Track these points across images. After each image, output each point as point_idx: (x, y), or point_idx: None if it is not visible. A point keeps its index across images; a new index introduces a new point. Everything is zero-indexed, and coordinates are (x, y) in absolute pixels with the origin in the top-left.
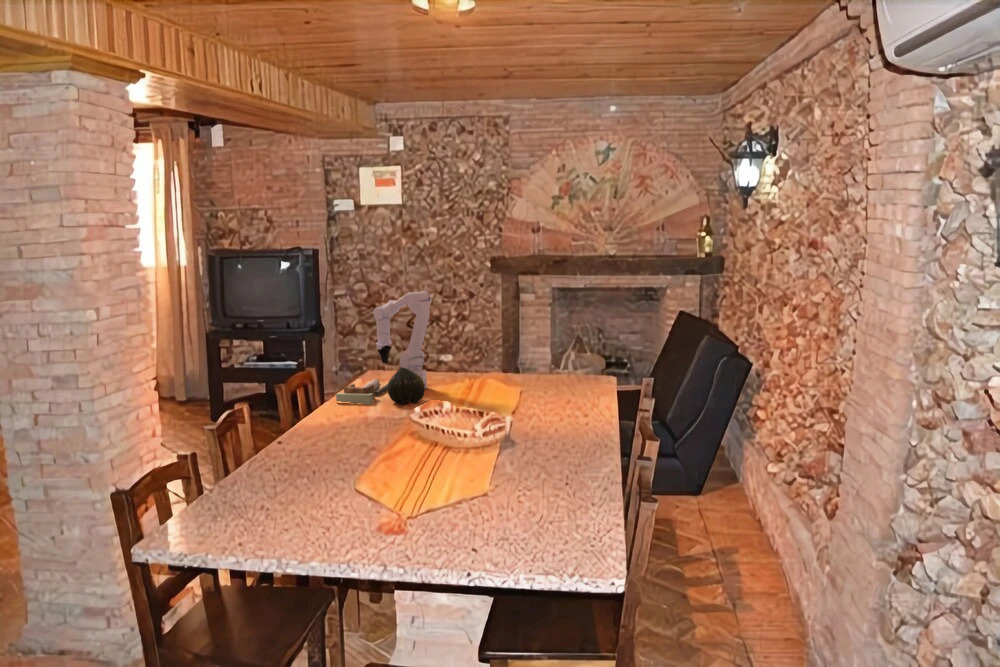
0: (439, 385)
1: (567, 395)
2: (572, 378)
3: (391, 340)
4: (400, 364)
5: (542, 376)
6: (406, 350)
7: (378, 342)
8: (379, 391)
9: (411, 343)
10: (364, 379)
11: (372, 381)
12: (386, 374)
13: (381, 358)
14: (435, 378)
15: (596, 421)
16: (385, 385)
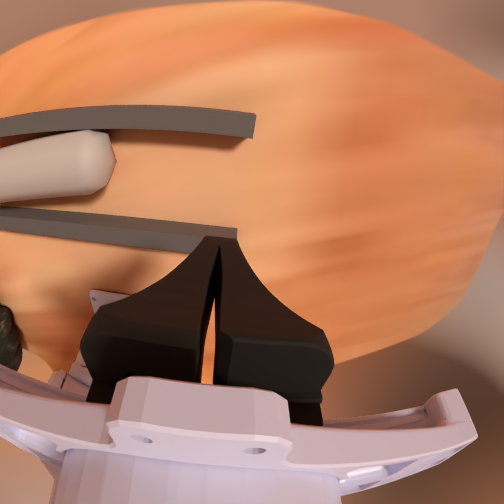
0: (207, 380)
1: None
2: None
3: (434, 463)
4: (48, 381)
5: None
6: (42, 462)
7: (67, 471)
8: (2, 228)
9: (50, 501)
10: (391, 30)
11: (28, 180)
12: (481, 150)
13: (189, 256)
14: (335, 356)
15: None
16: (82, 227)
